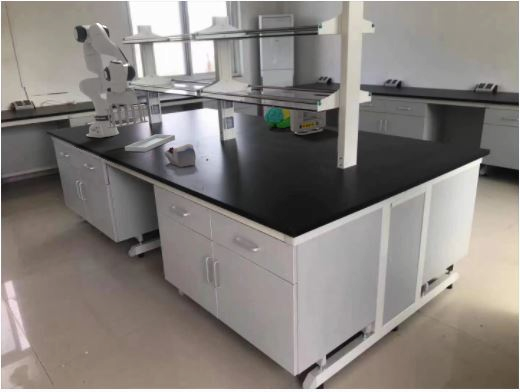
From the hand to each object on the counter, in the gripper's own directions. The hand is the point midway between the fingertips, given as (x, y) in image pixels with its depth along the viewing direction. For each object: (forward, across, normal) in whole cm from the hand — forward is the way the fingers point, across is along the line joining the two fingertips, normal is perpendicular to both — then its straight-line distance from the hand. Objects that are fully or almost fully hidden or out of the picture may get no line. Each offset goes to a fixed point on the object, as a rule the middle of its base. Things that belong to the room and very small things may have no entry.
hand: (124, 111), depth 263 cm
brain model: (+20, -82, -59) cm, 103 cm away
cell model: (+19, -60, +36) cm, 73 cm away
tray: (+20, -18, +1) cm, 26 cm away
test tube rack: (+9, -1, -1) cm, 9 cm away
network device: (+19, -106, -45) cm, 116 cm away
